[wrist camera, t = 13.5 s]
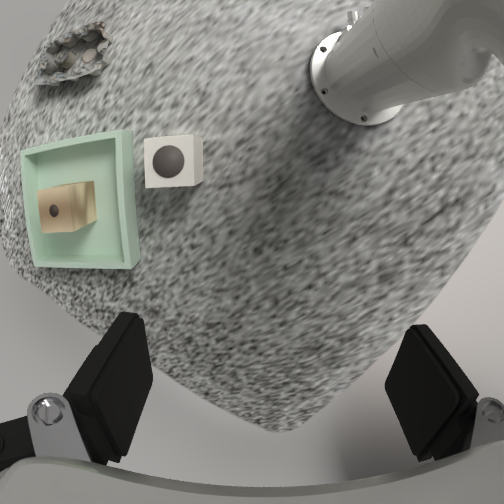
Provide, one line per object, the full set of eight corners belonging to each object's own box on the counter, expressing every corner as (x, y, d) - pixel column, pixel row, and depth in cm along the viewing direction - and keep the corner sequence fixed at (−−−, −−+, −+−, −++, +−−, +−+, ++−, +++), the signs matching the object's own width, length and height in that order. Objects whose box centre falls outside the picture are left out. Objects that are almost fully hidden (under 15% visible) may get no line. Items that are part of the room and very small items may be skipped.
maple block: (63, 184, 32) (36, 190, 26) (94, 180, 32) (68, 186, 26) (67, 221, 34) (41, 233, 28) (97, 219, 34) (73, 231, 28)
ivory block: (160, 141, 32) (143, 138, 26) (202, 138, 32) (193, 134, 26) (161, 182, 33) (145, 188, 27) (203, 180, 33) (194, 186, 27)
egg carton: (118, 29, 27) (106, 18, 23) (109, 79, 29) (94, 72, 25) (55, 43, 26) (40, 36, 22) (46, 90, 28) (29, 86, 24)
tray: (35, 149, 31) (20, 150, 27) (133, 131, 31) (121, 129, 28) (47, 258, 36) (34, 266, 32) (141, 259, 36) (131, 269, 33)
